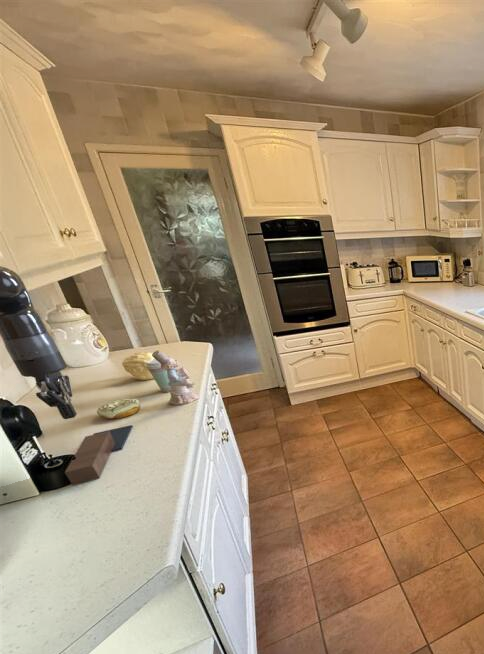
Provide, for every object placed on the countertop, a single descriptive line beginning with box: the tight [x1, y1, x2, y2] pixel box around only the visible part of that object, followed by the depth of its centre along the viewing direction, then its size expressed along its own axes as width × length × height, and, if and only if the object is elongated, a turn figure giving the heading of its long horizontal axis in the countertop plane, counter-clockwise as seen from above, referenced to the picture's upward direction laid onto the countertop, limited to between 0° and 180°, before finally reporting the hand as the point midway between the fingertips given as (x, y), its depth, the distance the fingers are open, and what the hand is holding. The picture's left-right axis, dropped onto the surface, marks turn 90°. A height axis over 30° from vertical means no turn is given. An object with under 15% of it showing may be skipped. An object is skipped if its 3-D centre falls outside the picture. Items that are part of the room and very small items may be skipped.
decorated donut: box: [96, 398, 141, 420], centre depth 132 cm, size 10×11×4 cm
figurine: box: [152, 350, 199, 406], centre depth 137 cm, size 9×8×20 cm
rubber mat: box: [92, 424, 133, 453], centre depth 116 cm, size 16×9×1 cm, turn 33°
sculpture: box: [121, 351, 155, 381], centre depth 161 cm, size 11×12×11 cm
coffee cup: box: [146, 358, 178, 393], centre depth 149 cm, size 8×8×12 cm
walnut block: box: [64, 431, 115, 486], centre depth 105 cm, size 4×5×19 cm
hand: (70, 417), depth 100 cm, fingers closed
